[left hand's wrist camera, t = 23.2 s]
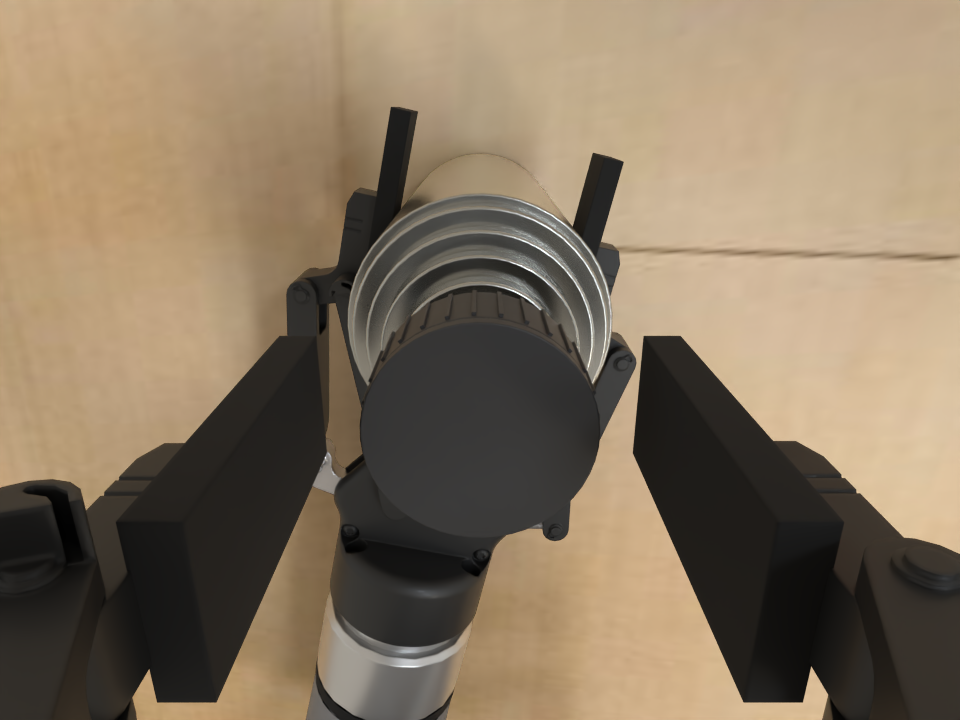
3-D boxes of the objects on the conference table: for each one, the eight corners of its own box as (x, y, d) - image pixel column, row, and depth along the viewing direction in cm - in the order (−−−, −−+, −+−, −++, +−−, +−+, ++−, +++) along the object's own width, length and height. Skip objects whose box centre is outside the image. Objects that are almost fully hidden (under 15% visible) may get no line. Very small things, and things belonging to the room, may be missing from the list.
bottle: (577, 190, 33) (739, 327, 12) (515, 319, 35) (565, 615, 15) (440, 128, 32) (368, 164, 11) (386, 265, 34) (246, 502, 14)
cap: (596, 469, 15) (613, 524, 13) (396, 496, 15) (384, 554, 13) (574, 272, 13) (591, 301, 11) (351, 306, 14) (330, 340, 12)
